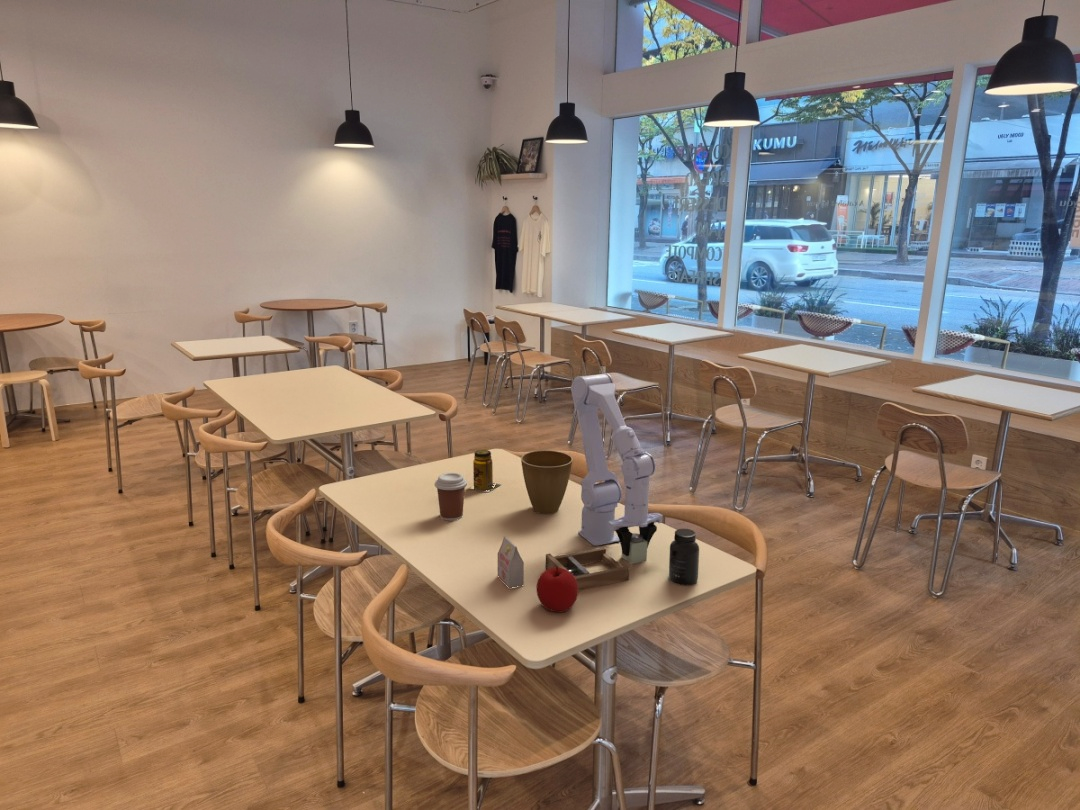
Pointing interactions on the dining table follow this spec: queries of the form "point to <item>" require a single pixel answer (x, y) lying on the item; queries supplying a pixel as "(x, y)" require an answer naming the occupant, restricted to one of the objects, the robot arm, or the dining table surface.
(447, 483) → the coffee cup
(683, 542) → the supplement bottle
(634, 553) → the jar
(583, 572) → the pusher plate
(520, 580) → the milk carton
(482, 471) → the condiment
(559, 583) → the apple
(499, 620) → the dining table surface
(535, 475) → the plant pot
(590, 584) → the brown wooden shallow box
